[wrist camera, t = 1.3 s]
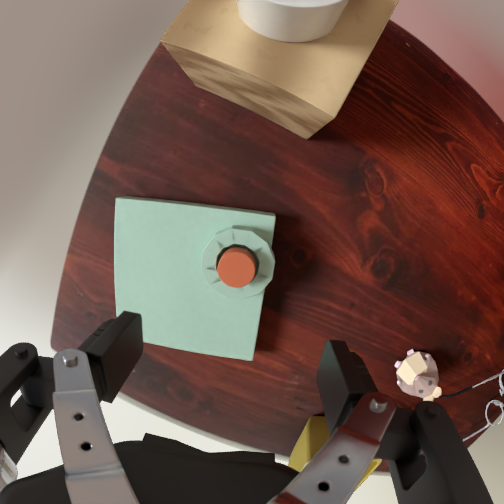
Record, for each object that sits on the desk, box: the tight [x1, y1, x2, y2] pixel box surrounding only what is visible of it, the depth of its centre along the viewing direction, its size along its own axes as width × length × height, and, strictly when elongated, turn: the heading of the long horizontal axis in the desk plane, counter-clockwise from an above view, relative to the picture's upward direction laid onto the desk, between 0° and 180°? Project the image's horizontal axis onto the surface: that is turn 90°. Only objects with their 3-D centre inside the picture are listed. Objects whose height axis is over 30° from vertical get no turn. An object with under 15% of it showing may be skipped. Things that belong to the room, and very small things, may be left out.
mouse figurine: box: [394, 349, 441, 401], centre depth 26 cm, size 5×8×7 cm, turn 49°
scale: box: [114, 196, 276, 361], centre depth 25 cm, size 14×14×4 cm
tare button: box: [217, 247, 256, 288], centre depth 22 cm, size 3×3×2 cm
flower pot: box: [288, 416, 382, 490], centre depth 27 cm, size 9×9×9 cm
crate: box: [160, 0, 399, 140], centre depth 17 cm, size 11×11×10 cm
